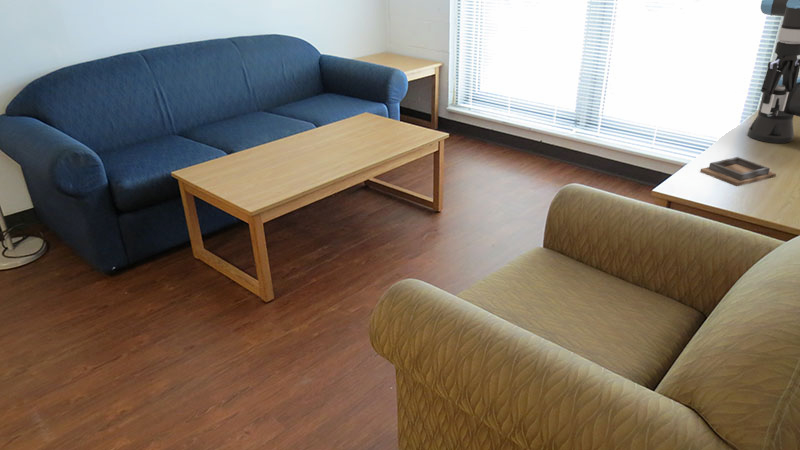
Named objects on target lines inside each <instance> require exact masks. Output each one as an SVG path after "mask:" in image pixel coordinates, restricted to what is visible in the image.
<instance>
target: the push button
mask: <svg viewBox="0 0 800 450" xmlns="http://www.w3.org/2000/svg"><path fill="white" fill-rule="evenodd" d="M787 91H788V89H786V88H785V86H783V85H777V86H776V88H775V90H774V93H773V94H774V99H773V103H772V107H771V110H770V114H768V115H767V116H770V117H773V116H775V115H776V116H777V114H778V111H779V106H780V105H778V104H779V96H783V95H785V94H786V92H787Z"/></svg>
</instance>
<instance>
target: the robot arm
mask: <svg viewBox="0 0 800 450" xmlns="http://www.w3.org/2000/svg"><path fill="white" fill-rule="evenodd" d="M760 11H761V13H762V14H764V15H769V16H770V17H771V16H772V17H773V16H777V17H783V20H782V23H781V27H780V30H779V33H778V38H777V40H778V41H777V42H776V46H775V50H774V53H775V54H776V55H777V56H776V57H775V59H774V61H769V62H768V64H767V70H766V73H765V77H764V80H763V83H762V87H761V89H760V92H761V93H762V97H761V101H760V103H759V104H760V105H759V109H758V113H757V116H756V117H755V119H754V120H753V122H752V123H751V124H750V127H749V128H748V131H747V136H748V137H749V138H751V139H754V140H756V141H760V142H765V143H772V144H773V143H774V144H786V143H791V142H793V139H794V136H795V134H794V121H793V120H794V117H795V116H796V117H799V118H800V76H799V74H800V73H799V72H800V58H798V56H800V0H761V3H760ZM777 85H783V86H785V88H786V89H788V91H787V92H786V94H785V95H783V96H779V104H778V105H780V106H779V111H778V114H777V116H776V115H775V116H773V117H770V116H767V115H768V114H770V110H771V107H772V103H773V99H774V94H773V93H774V90H775V88H776V86H777Z"/></svg>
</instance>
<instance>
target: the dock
mask: <svg viewBox="0 0 800 450" xmlns="http://www.w3.org/2000/svg"><path fill="white" fill-rule="evenodd" d="M699 172H700V173H702V172H703V174H705V175H708V176H710V177H712V178H715V179H718V180H720V181H723V182H726V183H729V184H730V185H733V186H736V187H740V186H742V185H747V184H750V183H755V182H759V181H763V179H764V180H767V179H766V178H768V179H770V178H769V177H772V178H774V177H773V176H775V177H776V176H777V173H775V172H773V171H770V167H768V166H765V165H762V164H760V163H759V164H758V163H756V162H753V161H751V160H747V159H744V158H743V157H739V156H736V157H732V158H731V157H730V158H726V159H721V160H718V161H714V162H710V163H709V166H707V167H702V168H700V171H699Z"/></svg>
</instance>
